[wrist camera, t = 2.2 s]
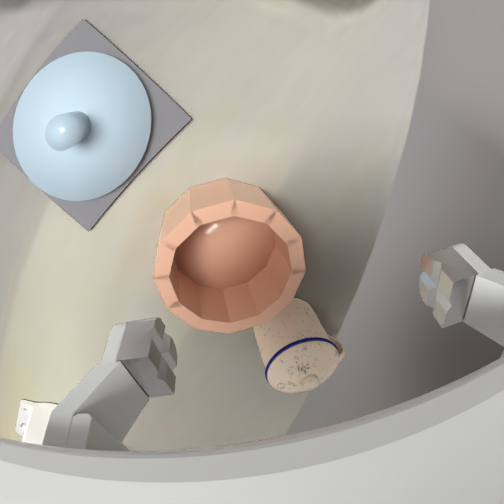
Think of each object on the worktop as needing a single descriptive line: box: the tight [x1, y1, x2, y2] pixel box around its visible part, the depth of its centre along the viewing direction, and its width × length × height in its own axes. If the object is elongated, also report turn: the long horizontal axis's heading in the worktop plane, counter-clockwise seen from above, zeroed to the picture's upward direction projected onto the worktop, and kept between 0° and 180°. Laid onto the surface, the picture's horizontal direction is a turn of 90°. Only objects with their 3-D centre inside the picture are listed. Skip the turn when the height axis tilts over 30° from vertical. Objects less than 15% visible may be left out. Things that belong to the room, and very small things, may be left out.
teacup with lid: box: [253, 298, 345, 393], centre depth 39 cm, size 12×9×12 cm
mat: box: [0, 19, 191, 232], centre depth 26 cm, size 16×16×1 cm
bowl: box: [153, 178, 306, 333], centre depth 33 cm, size 14×14×7 cm
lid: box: [13, 51, 152, 201], centre depth 24 cm, size 15×15×5 cm
